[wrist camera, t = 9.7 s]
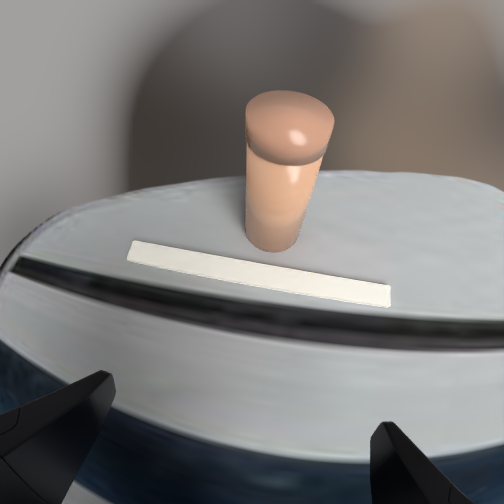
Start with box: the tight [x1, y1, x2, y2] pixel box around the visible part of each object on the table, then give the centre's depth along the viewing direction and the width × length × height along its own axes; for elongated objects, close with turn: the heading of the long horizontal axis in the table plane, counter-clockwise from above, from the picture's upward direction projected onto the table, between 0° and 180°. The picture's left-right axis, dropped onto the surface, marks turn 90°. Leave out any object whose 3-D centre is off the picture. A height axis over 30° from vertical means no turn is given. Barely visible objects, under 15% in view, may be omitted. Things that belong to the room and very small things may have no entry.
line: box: [127, 240, 390, 308], centre depth 25 cm, size 24×2×1 cm, turn 80°
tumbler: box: [245, 90, 334, 252], centre depth 21 cm, size 5×5×13 cm
